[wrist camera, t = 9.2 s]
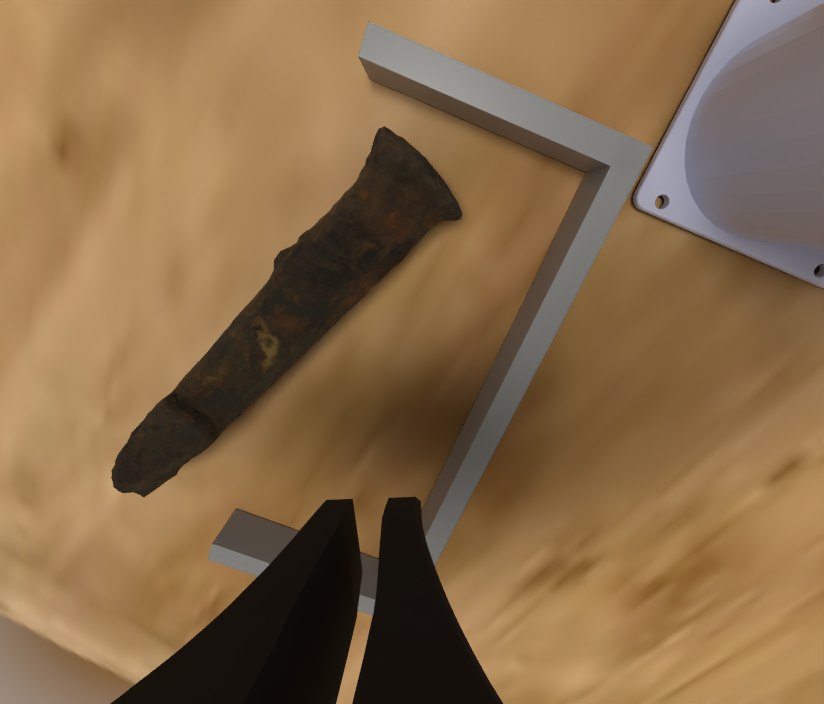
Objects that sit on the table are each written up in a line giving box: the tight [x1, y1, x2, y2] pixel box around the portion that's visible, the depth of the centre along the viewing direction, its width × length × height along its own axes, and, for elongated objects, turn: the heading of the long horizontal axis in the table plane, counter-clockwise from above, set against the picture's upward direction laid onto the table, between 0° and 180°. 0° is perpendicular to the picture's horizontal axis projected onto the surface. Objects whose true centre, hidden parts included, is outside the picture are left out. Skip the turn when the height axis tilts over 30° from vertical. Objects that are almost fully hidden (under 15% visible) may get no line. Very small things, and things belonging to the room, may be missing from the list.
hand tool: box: [111, 127, 462, 497], centre depth 17 cm, size 19×4×5 cm, turn 132°
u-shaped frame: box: [208, 22, 653, 616], centre depth 19 cm, size 10×23×2 cm, turn 159°
